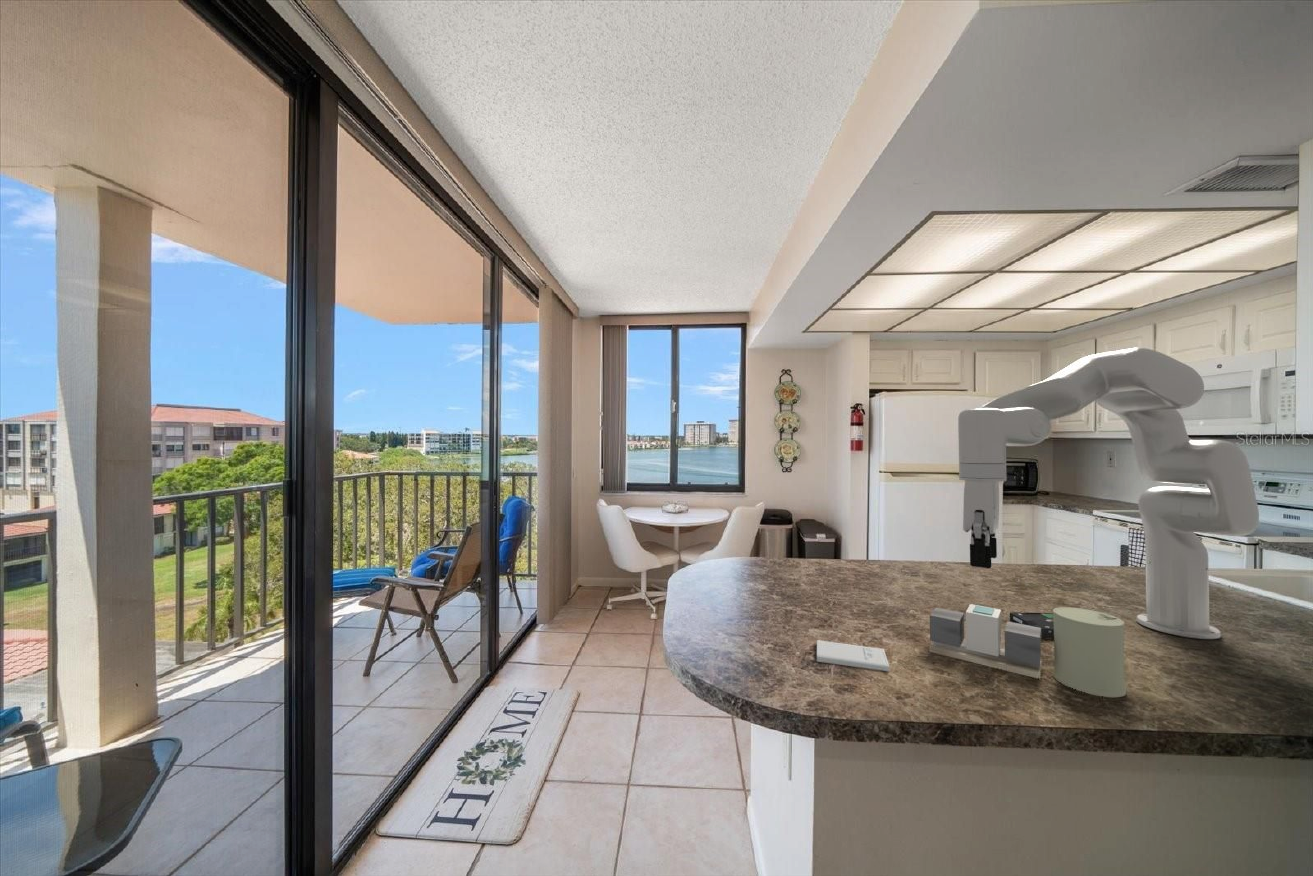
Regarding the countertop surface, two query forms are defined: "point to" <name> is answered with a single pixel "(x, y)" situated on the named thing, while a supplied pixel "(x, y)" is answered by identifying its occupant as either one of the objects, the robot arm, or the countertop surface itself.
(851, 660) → the external hard drive
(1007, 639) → the board
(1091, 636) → the can
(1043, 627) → the disk drive
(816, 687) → the countertop surface
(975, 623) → the block
